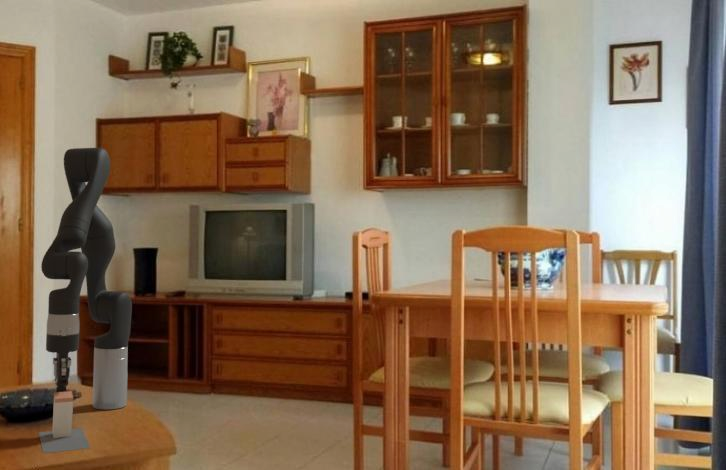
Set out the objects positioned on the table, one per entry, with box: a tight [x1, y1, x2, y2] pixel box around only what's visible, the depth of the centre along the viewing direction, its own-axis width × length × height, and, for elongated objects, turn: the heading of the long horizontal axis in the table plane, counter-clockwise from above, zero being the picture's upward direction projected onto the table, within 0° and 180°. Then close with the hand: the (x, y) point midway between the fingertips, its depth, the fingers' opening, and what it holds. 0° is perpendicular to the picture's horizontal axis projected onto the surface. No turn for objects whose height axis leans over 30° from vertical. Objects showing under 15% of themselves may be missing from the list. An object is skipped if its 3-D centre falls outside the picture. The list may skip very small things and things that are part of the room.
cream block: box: [51, 390, 74, 438], centre depth 172 cm, size 4×4×10 cm
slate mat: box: [38, 427, 91, 454], centre depth 169 cm, size 18×10×1 cm, turn 28°
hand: (60, 401), depth 175 cm, fingers closed
